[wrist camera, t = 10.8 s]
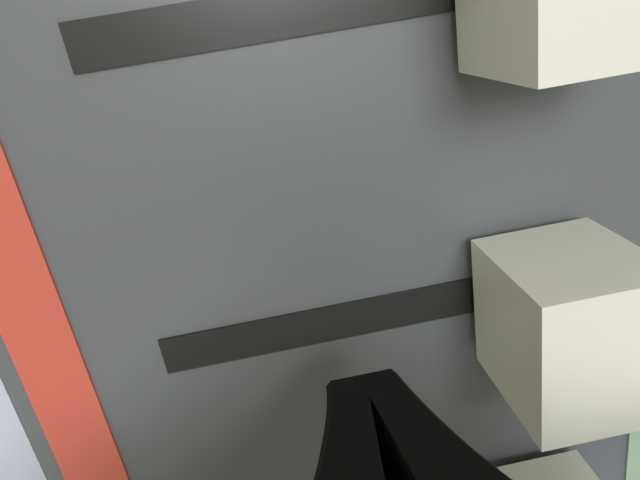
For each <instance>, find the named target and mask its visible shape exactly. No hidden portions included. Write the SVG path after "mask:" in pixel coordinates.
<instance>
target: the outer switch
mask: <svg viewBox="0 0 640 480" xmlns="http://www.w3.org/2000/svg"><path fill="white" fill-rule="evenodd" d="M455 11H456V29H457V48H458V66H459V73H464V74H469V75H473V76H478V77H482V78H487V79H492V80H496V81H501V82H506V83H510V84H515V85H519V86H524V87H529V88H533V89H538V90H539V89H544V88H550V87H556V86H561V85H567V84H572V83H578V82H584V81H589V80H595V79H600V78H606V77H612V76H617V75H623V74H628V73H634V72H640V0H455Z"/></svg>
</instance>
